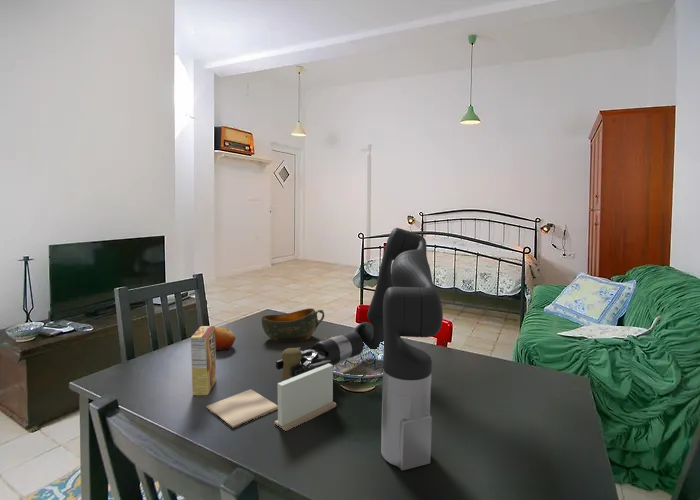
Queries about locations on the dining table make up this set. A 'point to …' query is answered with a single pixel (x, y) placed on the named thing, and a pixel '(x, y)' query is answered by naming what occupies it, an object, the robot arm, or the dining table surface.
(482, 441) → the dining table surface
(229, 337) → the fruit
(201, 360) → the candy box
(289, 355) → the pepper mill
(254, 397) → the board
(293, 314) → the green gravy boat
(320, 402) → the screen
